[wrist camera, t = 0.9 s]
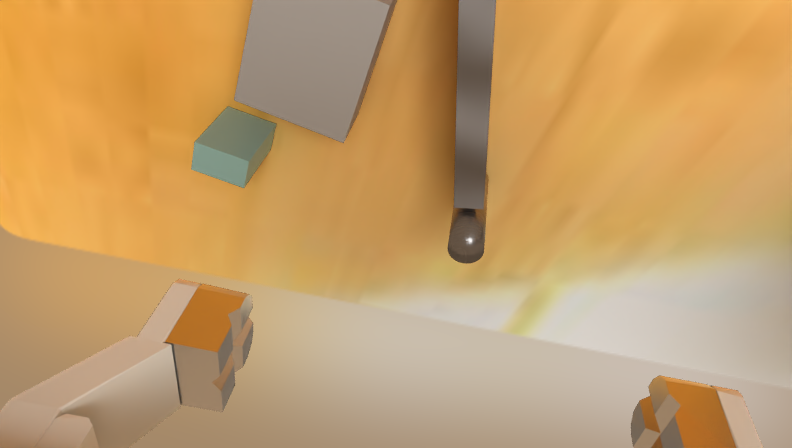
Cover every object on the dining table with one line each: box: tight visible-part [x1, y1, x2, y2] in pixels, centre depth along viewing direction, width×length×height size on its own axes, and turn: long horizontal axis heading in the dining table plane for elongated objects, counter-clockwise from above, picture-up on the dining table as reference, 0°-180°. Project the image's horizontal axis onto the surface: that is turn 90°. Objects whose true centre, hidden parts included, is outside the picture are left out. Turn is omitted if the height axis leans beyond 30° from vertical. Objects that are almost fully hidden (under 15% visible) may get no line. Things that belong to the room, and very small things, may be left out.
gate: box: [454, 0, 496, 209], centre depth 37 cm, size 18×2×6 cm, turn 2°
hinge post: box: [448, 173, 488, 263], centre depth 43 cm, size 2×2×9 cm
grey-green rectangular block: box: [191, 107, 276, 188], centre depth 45 cm, size 4×2×6 cm, turn 72°
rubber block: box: [234, 0, 397, 143], centre depth 40 cm, size 8×10×5 cm
